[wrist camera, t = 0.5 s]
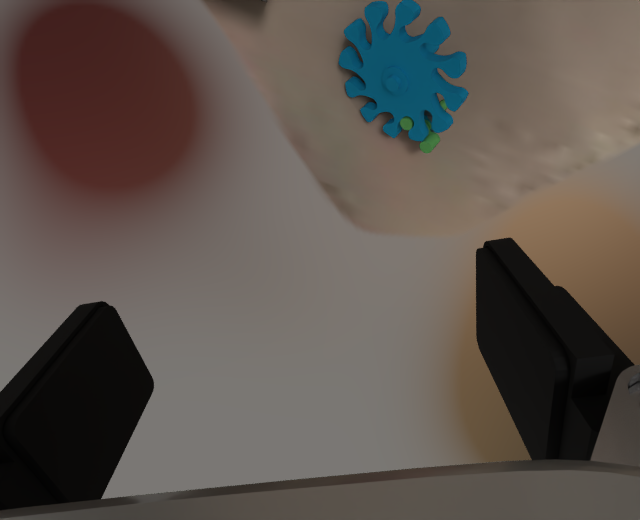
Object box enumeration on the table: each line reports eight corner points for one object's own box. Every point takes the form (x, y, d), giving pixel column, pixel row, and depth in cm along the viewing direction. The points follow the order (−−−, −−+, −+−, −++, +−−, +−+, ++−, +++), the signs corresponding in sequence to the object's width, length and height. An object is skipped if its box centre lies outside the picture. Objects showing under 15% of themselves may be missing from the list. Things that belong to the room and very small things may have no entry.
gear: (313, 29, 29) (433, -17, 22) (359, -6, 32) (482, -58, 24) (369, 159, 35) (478, 156, 28) (405, 121, 38) (514, 110, 31)
